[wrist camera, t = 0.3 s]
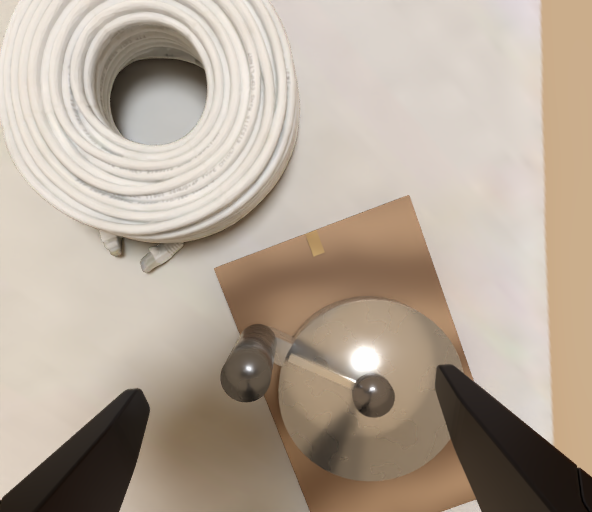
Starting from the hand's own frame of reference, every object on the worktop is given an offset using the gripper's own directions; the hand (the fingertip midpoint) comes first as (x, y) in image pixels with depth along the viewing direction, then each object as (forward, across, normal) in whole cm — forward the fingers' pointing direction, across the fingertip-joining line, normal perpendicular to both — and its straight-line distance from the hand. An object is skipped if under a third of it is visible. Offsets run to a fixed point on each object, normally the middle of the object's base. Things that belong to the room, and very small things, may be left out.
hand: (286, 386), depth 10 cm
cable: (+18, +8, -7) cm, 21 cm away
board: (+10, -4, +11) cm, 16 cm away
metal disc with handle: (+9, -2, +10) cm, 13 cm away
